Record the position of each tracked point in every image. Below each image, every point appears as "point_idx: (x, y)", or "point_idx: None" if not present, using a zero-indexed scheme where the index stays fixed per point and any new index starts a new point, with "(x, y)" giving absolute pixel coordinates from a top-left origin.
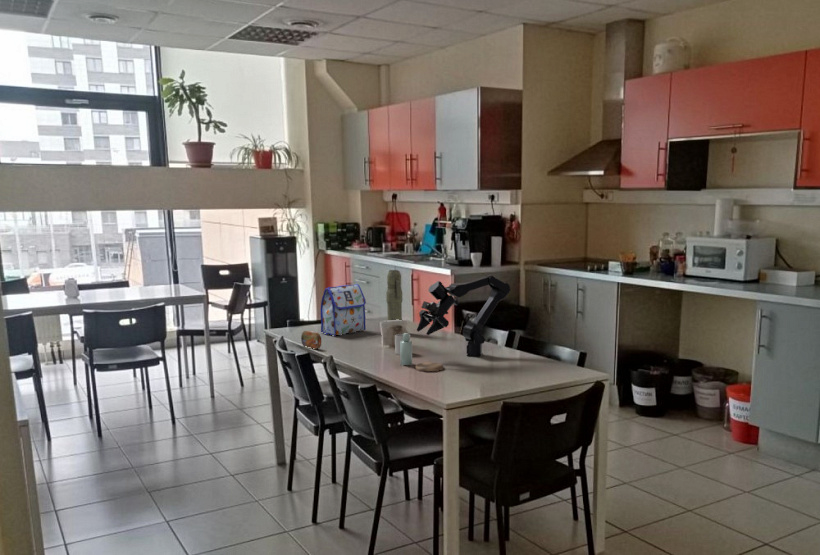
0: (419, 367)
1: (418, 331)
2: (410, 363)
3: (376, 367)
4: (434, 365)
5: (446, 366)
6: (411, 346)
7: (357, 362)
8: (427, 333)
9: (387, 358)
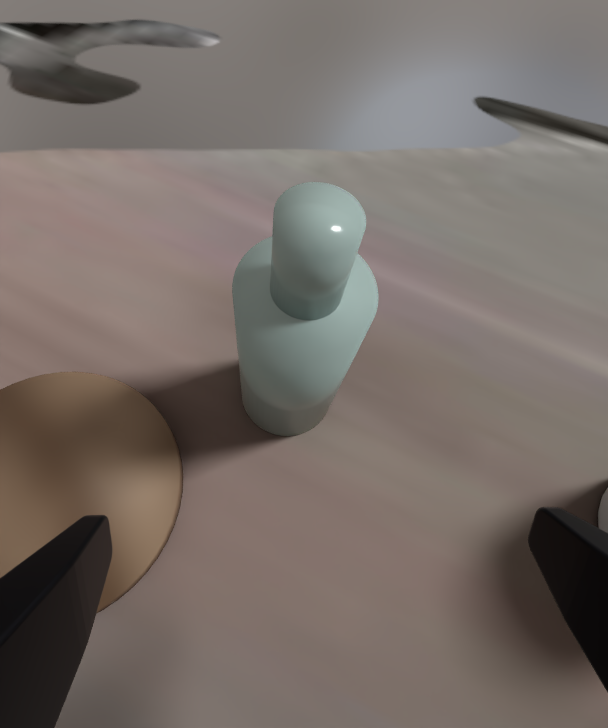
0: (62, 387)
1: (529, 545)
2: (242, 399)
3: None
4: (25, 539)
5: None
6: (249, 354)
7: (467, 187)
8: (74, 535)
9: (516, 360)
